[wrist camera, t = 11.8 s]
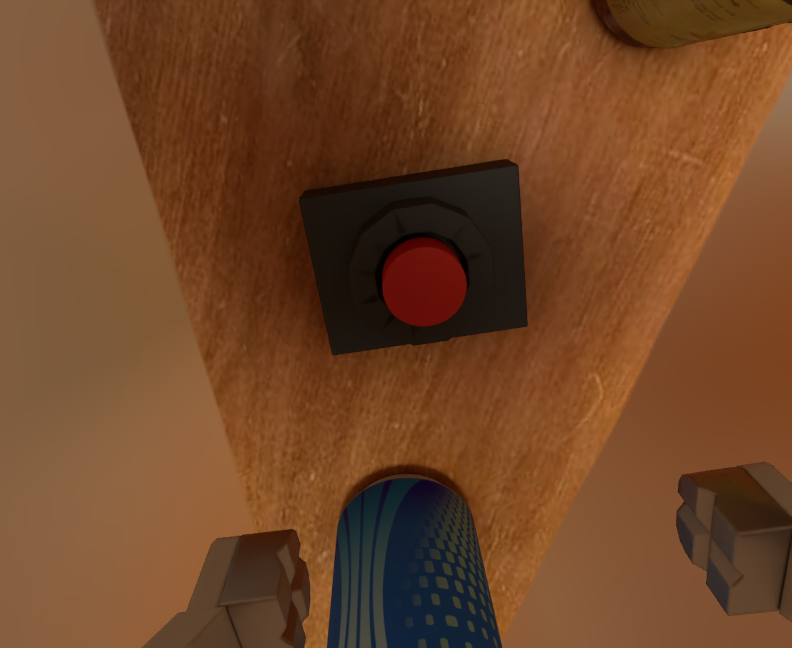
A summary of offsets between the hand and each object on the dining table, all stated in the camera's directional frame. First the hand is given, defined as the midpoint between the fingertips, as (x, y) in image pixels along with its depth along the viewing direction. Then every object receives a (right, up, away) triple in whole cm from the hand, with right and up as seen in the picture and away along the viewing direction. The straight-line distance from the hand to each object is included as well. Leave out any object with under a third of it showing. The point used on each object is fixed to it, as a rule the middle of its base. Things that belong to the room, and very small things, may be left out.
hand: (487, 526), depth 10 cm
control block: (-1, +7, +18) cm, 19 cm away
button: (-1, +6, +15) cm, 16 cm away
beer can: (-1, -8, +25) cm, 26 cm away
